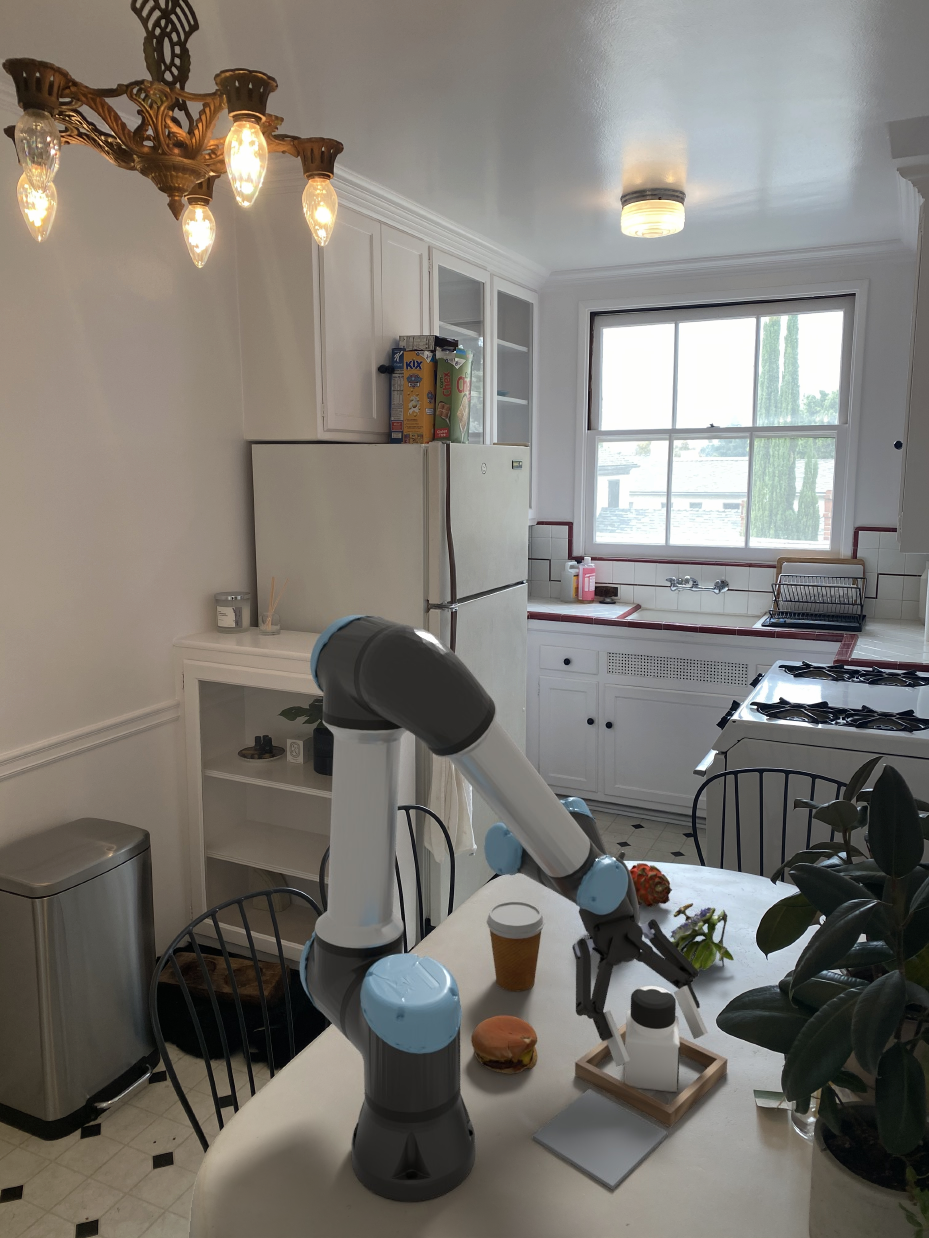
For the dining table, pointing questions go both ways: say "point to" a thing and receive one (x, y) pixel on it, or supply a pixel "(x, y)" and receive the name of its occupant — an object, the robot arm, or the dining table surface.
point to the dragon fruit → (650, 885)
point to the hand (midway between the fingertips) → (663, 1049)
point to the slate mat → (600, 1137)
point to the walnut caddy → (642, 1101)
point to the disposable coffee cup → (515, 943)
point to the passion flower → (694, 928)
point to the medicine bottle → (652, 1040)
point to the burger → (505, 1044)
